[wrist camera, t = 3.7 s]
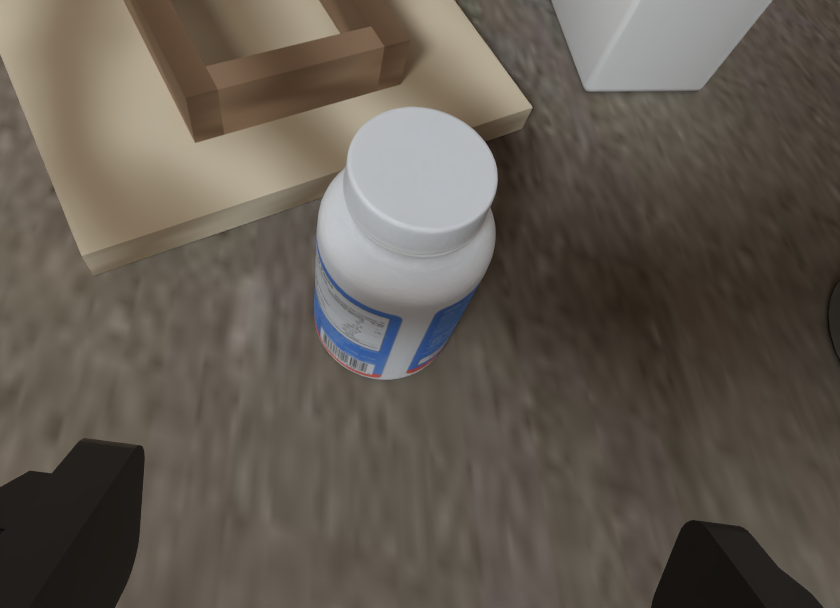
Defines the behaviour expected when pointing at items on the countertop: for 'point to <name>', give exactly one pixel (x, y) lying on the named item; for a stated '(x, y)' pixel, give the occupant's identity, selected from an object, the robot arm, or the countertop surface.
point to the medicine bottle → (653, 40)
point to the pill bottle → (403, 241)
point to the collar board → (227, 103)
